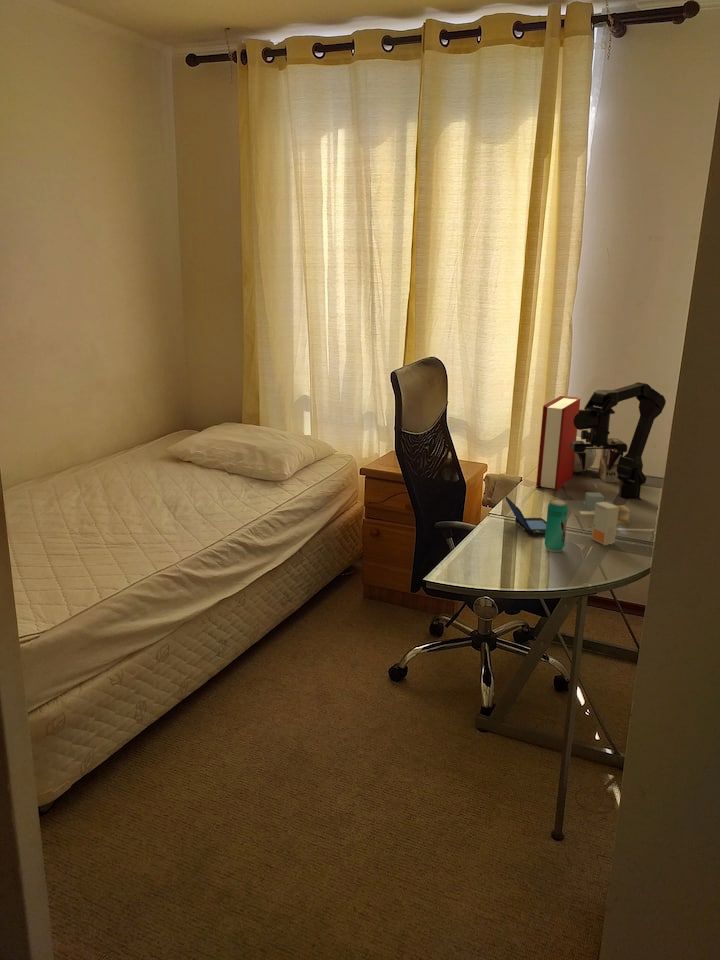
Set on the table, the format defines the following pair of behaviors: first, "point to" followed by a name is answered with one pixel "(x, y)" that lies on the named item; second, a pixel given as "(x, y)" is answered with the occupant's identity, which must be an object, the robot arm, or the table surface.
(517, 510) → the handheld game console
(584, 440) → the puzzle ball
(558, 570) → the table surface
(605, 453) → the coffee box
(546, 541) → the beverage can
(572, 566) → the table surface
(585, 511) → the letter board
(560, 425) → the book
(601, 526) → the skincare box
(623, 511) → the birch block
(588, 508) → the grey cube
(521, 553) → the table surface
